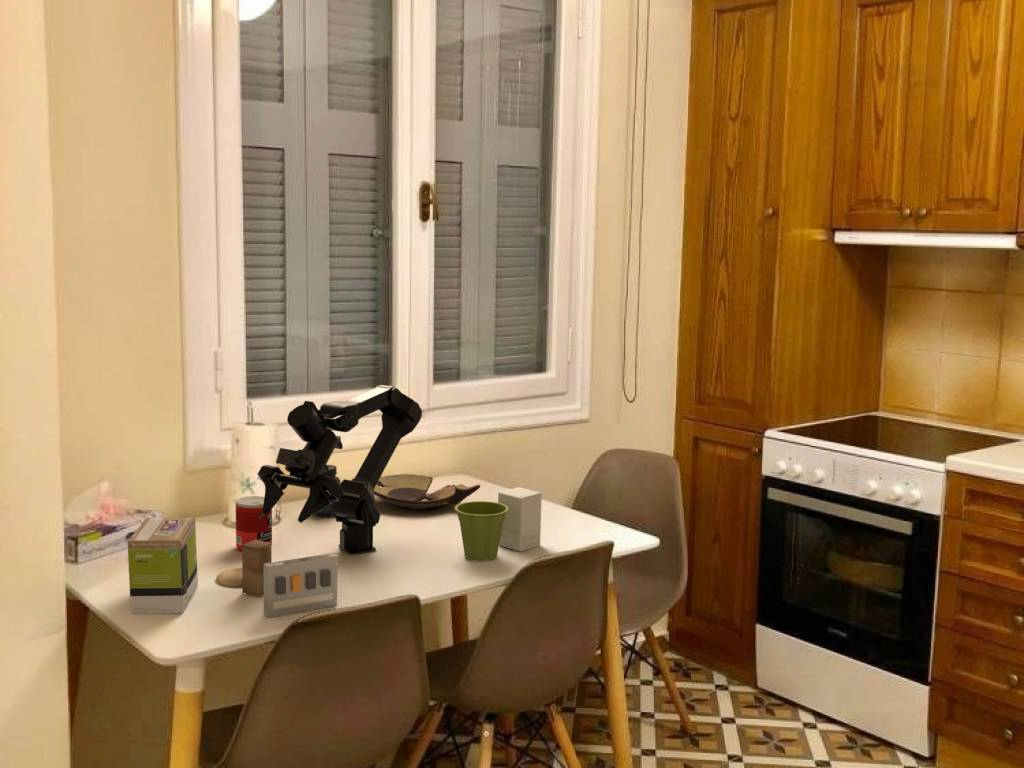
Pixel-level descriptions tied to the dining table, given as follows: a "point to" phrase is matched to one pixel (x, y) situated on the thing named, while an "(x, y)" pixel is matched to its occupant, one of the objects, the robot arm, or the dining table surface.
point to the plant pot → (481, 528)
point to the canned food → (252, 521)
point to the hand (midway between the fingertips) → (281, 517)
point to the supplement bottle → (328, 509)
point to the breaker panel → (300, 585)
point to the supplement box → (521, 519)
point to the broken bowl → (419, 491)
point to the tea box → (162, 565)
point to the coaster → (231, 577)
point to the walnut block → (254, 566)
